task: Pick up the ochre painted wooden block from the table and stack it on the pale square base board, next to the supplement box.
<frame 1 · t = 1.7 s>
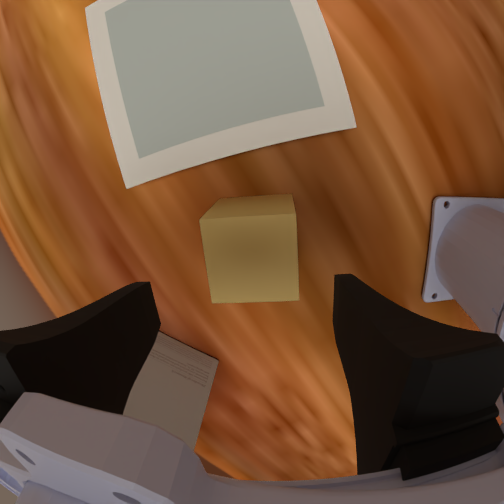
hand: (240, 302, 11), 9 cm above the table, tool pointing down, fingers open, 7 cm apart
base: (209, 51, 16), on the table
block: (258, 230, 20), on the table
supplement box: (168, 365, 25), on the table
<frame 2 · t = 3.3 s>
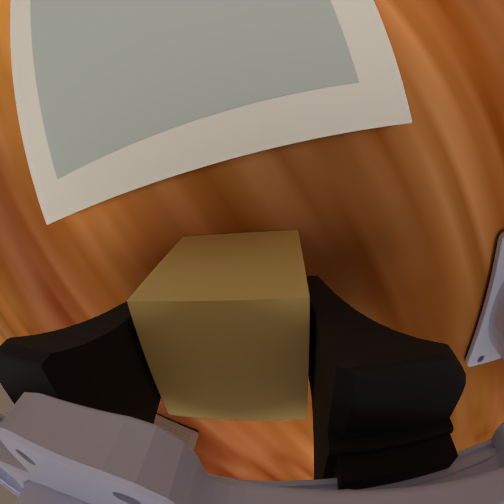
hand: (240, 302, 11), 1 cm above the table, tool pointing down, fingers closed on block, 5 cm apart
base: (167, 8, 9), on the table
block: (244, 285, 13), on the table, touching gripper
supplement box: (139, 429, 18), on the table
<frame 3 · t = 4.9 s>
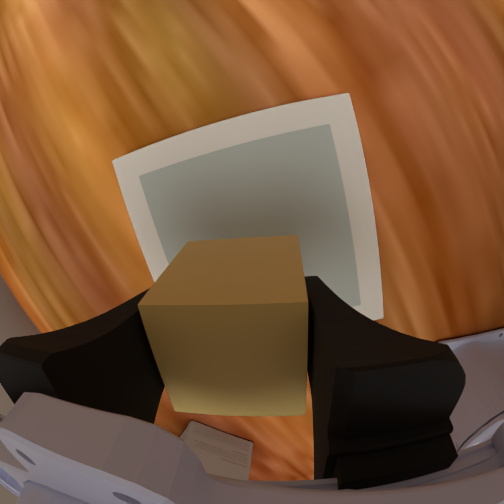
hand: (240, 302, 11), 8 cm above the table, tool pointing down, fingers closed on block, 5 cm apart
base: (257, 231, 19), on the table
block: (246, 287, 13), point 7 cm above the table, touching gripper
supplement box: (210, 442, 29), on the table
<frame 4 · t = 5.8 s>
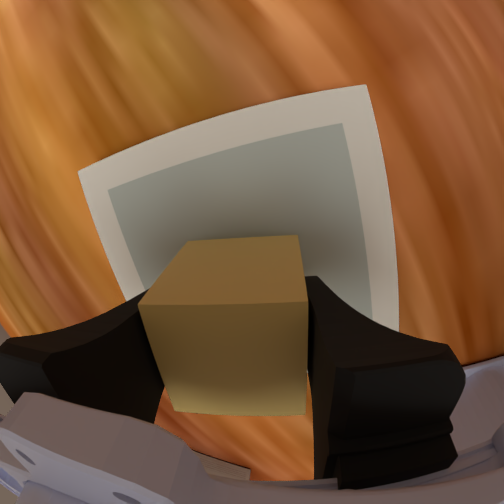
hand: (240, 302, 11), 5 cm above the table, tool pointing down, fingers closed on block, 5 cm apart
base: (251, 254, 16), on the table
block: (246, 287, 13), point 3 cm above the table, touching gripper
supplement box: (205, 468, 26), on the table
when the fingers open (5 cm above the table, at t = 6.4 s): block stays where it is, resting on base.
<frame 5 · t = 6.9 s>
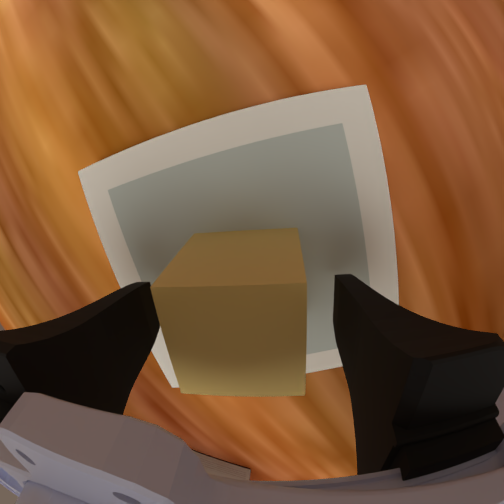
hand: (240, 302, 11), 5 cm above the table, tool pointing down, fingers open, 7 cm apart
base: (251, 254, 16), on the table
block: (249, 277, 14), point 2 cm above the table, touching base
supplement box: (205, 468, 26), on the table
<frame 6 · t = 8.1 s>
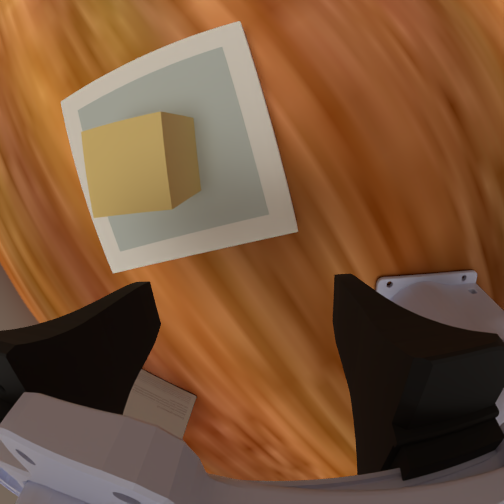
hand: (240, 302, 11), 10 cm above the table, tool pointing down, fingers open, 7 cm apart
base: (173, 151, 20), on the table
block: (162, 158, 18), point 2 cm above the table, touching base
supplement box: (157, 396, 29), on the table
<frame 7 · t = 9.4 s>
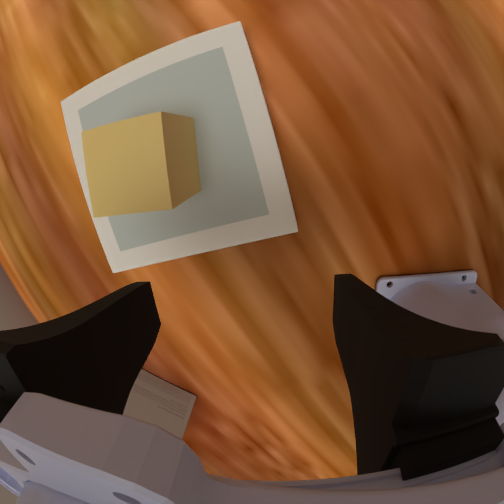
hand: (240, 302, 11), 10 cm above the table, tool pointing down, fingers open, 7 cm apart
base: (173, 151, 20), on the table
block: (162, 158, 18), point 2 cm above the table, touching base
supplement box: (157, 396, 29), on the table
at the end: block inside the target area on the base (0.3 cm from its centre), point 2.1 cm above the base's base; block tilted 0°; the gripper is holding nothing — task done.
